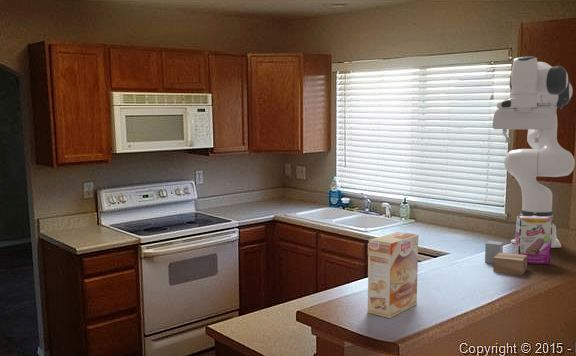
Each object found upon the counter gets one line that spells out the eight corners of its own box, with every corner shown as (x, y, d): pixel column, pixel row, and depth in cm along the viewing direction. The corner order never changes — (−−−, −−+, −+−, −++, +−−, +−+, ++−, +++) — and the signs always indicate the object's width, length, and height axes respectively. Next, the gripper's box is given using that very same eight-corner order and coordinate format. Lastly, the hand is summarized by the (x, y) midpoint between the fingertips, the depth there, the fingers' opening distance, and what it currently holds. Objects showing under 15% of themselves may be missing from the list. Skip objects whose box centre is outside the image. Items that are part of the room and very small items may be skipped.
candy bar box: (518, 264, 198) (519, 217, 197) (514, 260, 203) (515, 215, 202) (551, 264, 197) (553, 218, 195) (546, 261, 202) (548, 216, 200)
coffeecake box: (390, 319, 142) (391, 243, 141) (366, 313, 147) (367, 239, 145) (418, 304, 154) (419, 234, 152) (395, 299, 158) (396, 231, 157)
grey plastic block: (487, 259, 204) (488, 240, 204) (502, 261, 202) (503, 242, 201) (484, 262, 200) (485, 243, 200) (499, 264, 198) (500, 244, 197)
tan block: (499, 266, 196) (499, 252, 196) (526, 269, 191) (527, 255, 191) (493, 272, 188) (493, 257, 188) (521, 275, 184) (522, 260, 183)
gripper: (554, 103, 197) (553, 142, 198) (492, 103, 203) (491, 142, 205) (557, 102, 191) (555, 143, 192) (493, 103, 197) (492, 142, 199)
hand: (522, 142), depth 199 cm, fingers open, 8 cm apart
